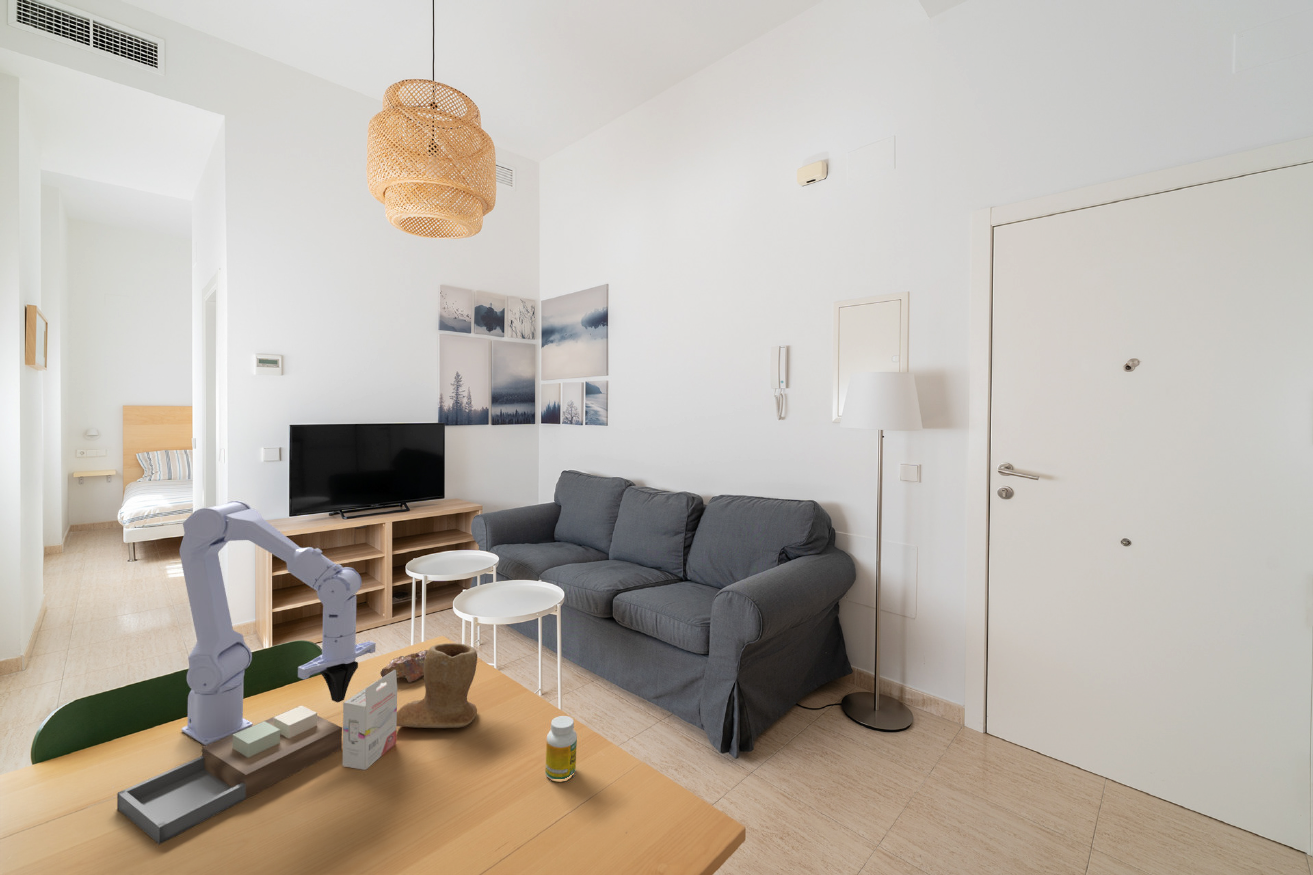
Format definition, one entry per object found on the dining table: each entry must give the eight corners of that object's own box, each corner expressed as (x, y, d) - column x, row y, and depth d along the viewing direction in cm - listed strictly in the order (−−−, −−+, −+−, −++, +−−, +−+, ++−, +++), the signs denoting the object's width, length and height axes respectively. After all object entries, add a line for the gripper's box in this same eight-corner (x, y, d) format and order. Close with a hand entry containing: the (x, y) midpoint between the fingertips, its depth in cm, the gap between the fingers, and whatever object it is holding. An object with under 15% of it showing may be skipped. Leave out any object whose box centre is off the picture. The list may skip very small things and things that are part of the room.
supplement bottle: (547, 763, 101) (549, 712, 101) (577, 764, 102) (579, 713, 101) (542, 783, 96) (544, 729, 96) (573, 783, 96) (575, 730, 96)
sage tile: (232, 748, 95) (232, 734, 95) (264, 734, 100) (264, 721, 100) (248, 757, 93) (248, 743, 93) (279, 742, 98) (280, 729, 97)
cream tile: (273, 730, 101) (273, 717, 101) (301, 717, 106) (301, 705, 106) (288, 738, 99) (289, 725, 99) (316, 725, 103) (317, 712, 103)
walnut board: (201, 769, 95) (202, 747, 95) (297, 726, 110) (298, 706, 109) (245, 798, 89) (245, 774, 89) (341, 748, 103) (342, 727, 103)
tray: (117, 808, 86) (117, 792, 86) (201, 769, 95) (202, 755, 95) (159, 844, 79) (159, 827, 79) (245, 798, 89) (245, 783, 89)
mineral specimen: (410, 685, 125) (398, 657, 125) (386, 697, 127) (373, 670, 127) (444, 662, 136) (432, 637, 137) (421, 673, 138) (410, 649, 139)
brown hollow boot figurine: (484, 704, 121) (486, 637, 120) (467, 736, 109) (470, 661, 108) (413, 703, 120) (416, 635, 120) (389, 734, 108) (391, 659, 108)
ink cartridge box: (374, 739, 106) (376, 664, 106) (396, 743, 105) (399, 668, 105) (340, 766, 98) (342, 685, 97) (364, 771, 97) (367, 689, 96)
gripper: (314, 649, 101) (312, 722, 101) (385, 624, 113) (384, 689, 114) (291, 641, 104) (290, 711, 104) (363, 617, 117) (362, 680, 117)
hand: (337, 699), depth 109 cm, fingers closed
